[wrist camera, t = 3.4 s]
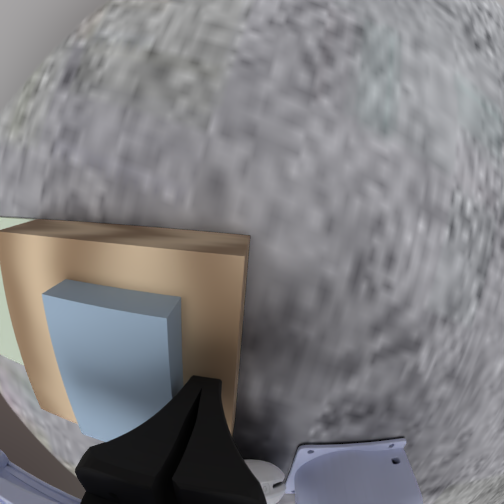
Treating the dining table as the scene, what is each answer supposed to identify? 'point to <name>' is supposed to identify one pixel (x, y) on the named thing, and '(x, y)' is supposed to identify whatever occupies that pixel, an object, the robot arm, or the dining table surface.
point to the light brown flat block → (133, 278)
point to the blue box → (115, 353)
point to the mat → (3, 337)
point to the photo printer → (268, 479)
